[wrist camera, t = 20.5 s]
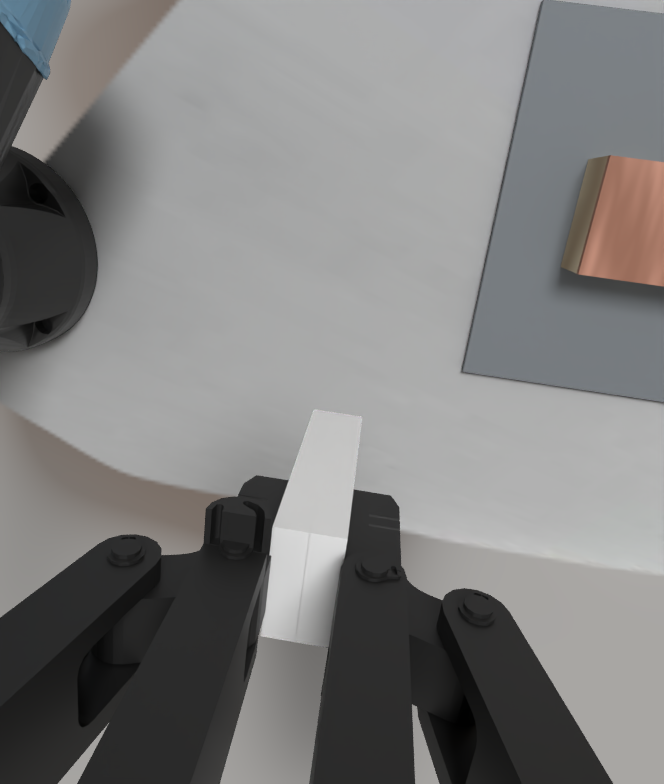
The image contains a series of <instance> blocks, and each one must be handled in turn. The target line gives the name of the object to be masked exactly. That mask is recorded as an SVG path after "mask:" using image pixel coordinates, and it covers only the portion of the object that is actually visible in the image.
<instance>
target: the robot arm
mask: <svg viewBox="0 0 664 784" xmlns="http://www.w3.org/2000/svg"><path fill="white" fill-rule="evenodd" d="M70 4H71V0H0V352H12V351H19V350H25V349H29V348H32V347H35V346H38V345H40V344H42V343H45V342H47V341H50V340H52V339H54V338H56V337H58V336H60V335H61V334H63V333H64V332H66V331H67V330H68V329H70V328H71V327H72V326H73V325H74V324H75V323H76V322H77V321H78V320H79V318H80V317H81V316H82V314H83V313H84V311H85V310H86V308H87V306H88V304H89V302H90V300H91V297H92V294H93V291H94V287H95V282H96V276H97V252H96V245H95V240H94V236H93V232H92V229H91V226H90V223H89V221H88V218H87V216H86V214H85V212H84V210H83V208H82V206H81V204H80V202H79V201H78V199H77V198H76V196H75V195H74V193H73V192H72V190H71V189H70V188H69V187H68V185H67V184H66V183H65V182H64V181H63V180H62V179H61V178H60V176H59V175H58V174H56V173H55V172H54V171H53V170H52V169H51V168H50V167H48V166H47V165H46V164H45V163H43V162H42V161H40V160H39V159H37V158H36V157H34V156H32V155H31V154H28V153H27V152H25V151H23V150H20V149H18V148H15V147H12V143H13V141H14V139H15V137H16V135H17V133H18V130H19V129H20V126H21V124H22V122H23V120H24V118H25V116H26V114H27V111H28V109H29V107H30V105H31V103H32V101H33V99H34V97H35V94H36V92H37V90H38V88H39V86H40V84H41V82H42V80H43V78H45V79H46V80H47V78H48V76H49V74H50V67H49V64H48V63H49V60H50V58H51V55H52V53H53V50H54V48H55V45H56V43H57V40H58V38H59V35H60V33H61V30H62V28H63V25H64V23H65V20H66V17H67V15H68V12H69V9H70ZM361 424H362V417H360V416H354V415H348V414H341V413H335V412H328V411H322V410H316V409H314V410H313V413H312V416H311V419H310V421H309V424H308V427H307V430H306V433H305V436H304V439H303V441H302V444H301V447H300V450H299V453H298V456H297V458H296V461H295V464H294V467H293V470H292V473H291V476H290V478H289V481H288V480H282V479H276V478H270V477H263V476H257V475H256V476H255V477H253V478H252V479H250V480H249V481H247V482H246V483H244V484H243V486H242V488H241V490H240V492H239V494H238V496H237V497H228V498H221V499H219V500H217V501H214V502H212V503H211V504H210V505H209V506H208V507H207V508H206V516H205V531H204V544H203V546H202V548H201V549H200V551H197V552H193V553H189V554H181V555H161V547H160V546H159V545H158V543H157V542H156V541H154V540H152V539H150V538H148V537H146V536H140V535H120V536H117V537H112V538H109V539H107V540H105V541H103V542H101V543H99V544H98V545H97V546H95V547H94V548H93V549H91V550H90V551H88V552H87V553H86V554H84V555H83V556H82V557H81V558H79V559H78V560H76V561H75V562H74V563H72V564H71V565H70V566H68V567H67V568H66V569H65V570H63V571H62V572H60V573H59V574H58V575H56V576H55V577H54V578H52V579H51V580H50V581H48V582H47V583H46V584H44V585H43V586H42V587H41V588H39V589H38V590H36V591H35V592H34V593H33V594H31V595H30V596H29V597H27V598H26V599H25V600H23V601H22V602H21V603H19V604H18V605H17V606H15V607H14V608H13V609H11V610H10V611H9V612H7V613H6V614H5V615H3V616H2V617H1V618H0V784H58V782H59V781H60V780H61V779H62V778H63V776H64V775H65V774H66V773H67V772H68V770H69V769H70V768H71V767H72V766H73V765H74V763H75V762H76V761H77V760H78V759H79V758H80V756H81V755H82V754H83V753H84V752H85V750H86V749H87V748H88V747H89V746H90V744H91V743H92V742H93V741H94V740H95V739H96V737H97V736H98V735H99V734H100V733H101V731H102V730H103V729H104V728H105V727H106V725H107V724H108V723H109V724H108V726H107V728H106V730H105V732H104V734H103V736H102V738H101V740H100V741H99V743H98V745H97V747H96V749H95V751H94V753H93V755H92V757H91V759H90V760H89V762H88V764H87V766H86V768H85V770H84V772H83V774H82V776H81V778H80V779H79V781H78V783H77V784H220V780H221V777H222V773H223V770H224V766H225V763H226V759H227V756H228V752H229V749H230V745H231V742H232V738H233V735H234V731H235V728H236V724H237V721H238V717H239V714H240V710H241V706H242V703H243V700H244V696H245V692H246V689H247V685H248V682H249V679H250V675H251V672H252V668H253V665H254V661H255V658H256V652H257V643H258V635H259V632H260V628H261V625H262V628H261V636H263V637H269V638H275V639H280V640H286V641H292V642H297V643H303V644H309V645H314V646H320V647H326V648H328V655H327V661H326V667H325V673H324V679H323V685H322V692H321V703H320V710H319V717H318V726H317V732H316V739H315V746H314V753H313V761H312V768H311V775H310V783H309V784H415V774H414V747H413V723H412V704H413V705H415V706H417V709H418V717H419V720H420V724H421V727H422V730H423V733H424V736H425V740H426V743H427V746H428V749H429V752H430V755H431V758H432V761H433V765H434V768H435V771H436V774H437V777H438V780H439V783H440V784H613V783H612V781H611V779H610V778H609V776H608V774H607V773H606V771H605V769H604V768H603V766H602V764H601V763H600V761H599V760H598V758H597V756H596V755H595V753H594V751H593V749H592V748H591V746H590V745H589V743H588V741H587V740H586V738H585V736H584V735H583V733H582V731H581V730H580V728H579V726H578V725H577V723H576V721H575V720H574V718H573V716H572V715H571V713H570V711H569V710H568V708H567V706H566V705H565V703H564V701H563V700H562V698H561V697H560V695H559V693H558V692H557V690H556V688H555V687H554V685H553V683H552V682H551V680H550V678H549V677H548V675H547V673H546V672H545V670H544V669H543V667H542V665H541V664H540V662H539V660H538V658H537V657H536V655H535V654H534V652H533V650H532V649H531V647H530V645H529V644H528V642H527V640H526V639H525V637H524V635H523V634H522V632H521V630H520V629H519V627H518V626H517V624H516V622H515V620H514V619H513V617H512V616H511V614H510V612H509V611H508V610H507V609H506V608H505V606H504V605H503V604H502V603H501V602H499V601H498V600H497V599H495V598H494V597H492V596H491V595H488V594H486V593H483V592H480V591H478V590H472V589H465V588H464V589H456V590H452V591H451V592H449V593H448V594H446V595H445V597H444V599H443V600H440V599H437V598H435V597H433V596H430V595H428V594H426V593H424V592H422V591H420V590H418V589H417V588H416V587H414V586H413V585H412V584H411V583H409V581H408V580H407V577H406V574H405V571H404V569H403V568H402V566H401V549H400V521H399V520H400V517H399V506H398V505H397V504H396V502H395V501H394V499H393V498H392V497H391V496H390V495H383V494H377V493H371V492H365V491H359V490H354V482H355V474H356V466H357V457H358V449H359V441H360V433H361Z"/></svg>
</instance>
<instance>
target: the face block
mask: <svg viewBox="0 0 664 784" xmlns="http://www.w3.org/2000/svg"><path fill="white" fill-rule="evenodd" d="M561 267H562V268H564V269H567V270H569V271H572V272H574V273H576V274H579V275H586V276H593V277H600V278H607V279H614V280H621V281H628V282H635V283H642V284H650V285H657V286H664V162H658V161H651V160H643V159H635V158H628V157H620V156H613V155H609V156H604V157H598V158H592V159H588V163H587V167H586V171H585V175H584V178H583V182H582V186H581V190H580V194H579V198H578V202H577V205H576V209H575V213H574V217H573V221H572V225H571V228H570V232H569V236H568V240H567V244H566V248H565V252H564V255H563V259H562V263H561Z"/></svg>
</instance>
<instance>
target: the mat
mask: <svg viewBox="0 0 664 784" xmlns="http://www.w3.org/2000/svg"><path fill="white" fill-rule="evenodd" d="M609 155H613V156H620V157H628V158H635V159H643V160H651V161H658V162H664V14H662V13H654V12H646V11H638V10H629V9H621V8H613V7H604V6H596V5H588V4H579V3H571V2H563V1H554V0H543V1H542V2H541V6H540V11H539V16H538V20H537V25H536V29H535V34H534V39H533V43H532V48H531V53H530V57H529V62H528V67H527V71H526V76H525V80H524V85H523V90H522V94H521V99H520V104H519V108H518V113H517V117H516V122H515V127H514V131H513V136H512V141H511V145H510V150H509V155H508V159H507V164H506V168H505V173H504V178H503V182H502V187H501V192H500V196H499V201H498V206H497V210H496V215H495V219H494V224H493V229H492V233H491V238H490V243H489V247H488V252H487V256H486V261H485V266H484V270H483V275H482V280H481V284H480V289H479V294H478V298H477V303H476V307H475V312H474V317H473V321H472V326H471V331H470V335H469V340H468V345H467V349H466V354H465V358H464V363H463V368H462V370H463V372H468V373H474V374H481V375H487V376H494V377H501V378H507V379H514V380H521V381H527V382H534V383H540V384H547V385H554V386H560V387H567V388H574V389H580V390H587V391H593V392H600V393H607V394H613V395H620V396H626V397H633V398H640V399H646V400H653V401H660V402H664V286H657V285H650V284H642V283H635V282H628V281H621V280H614V279H607V278H600V277H593V276H586V275H579V274H576V273H574V272H572V271H569V270H567V269H564V268H562V267H561V263H562V259H563V255H564V252H565V248H566V244H567V240H568V236H569V232H570V228H571V225H572V221H573V217H574V213H575V209H576V205H577V202H578V198H579V194H580V190H581V186H582V182H583V178H584V175H585V171H586V167H587V163H588V159H592V158H598V157H604V156H609Z"/></svg>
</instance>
